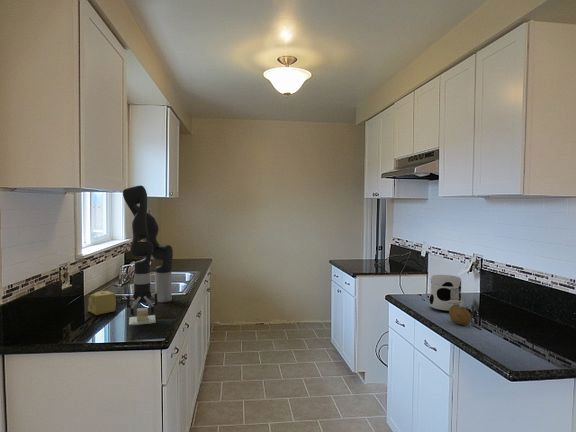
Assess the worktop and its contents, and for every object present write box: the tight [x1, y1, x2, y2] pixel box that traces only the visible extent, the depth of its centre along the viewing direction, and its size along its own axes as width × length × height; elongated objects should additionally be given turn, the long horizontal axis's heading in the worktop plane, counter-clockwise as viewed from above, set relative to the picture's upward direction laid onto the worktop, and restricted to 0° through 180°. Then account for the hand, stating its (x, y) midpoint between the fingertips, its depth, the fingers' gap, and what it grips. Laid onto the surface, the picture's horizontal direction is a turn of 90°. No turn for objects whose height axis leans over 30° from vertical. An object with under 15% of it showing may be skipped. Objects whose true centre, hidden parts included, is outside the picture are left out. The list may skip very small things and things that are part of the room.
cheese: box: [87, 290, 117, 316], centre depth 210 cm, size 10×11×10 cm
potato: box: [448, 306, 473, 326], centre depth 190 cm, size 10×14×8 cm
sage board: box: [128, 314, 157, 326], centre depth 194 cm, size 12×12×1 cm
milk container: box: [428, 274, 464, 313], centre depth 216 cm, size 17×17×18 cm
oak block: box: [136, 307, 149, 321], centre depth 193 cm, size 5×5×5 cm
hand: (142, 314), depth 194 cm, fingers open, 8 cm apart
